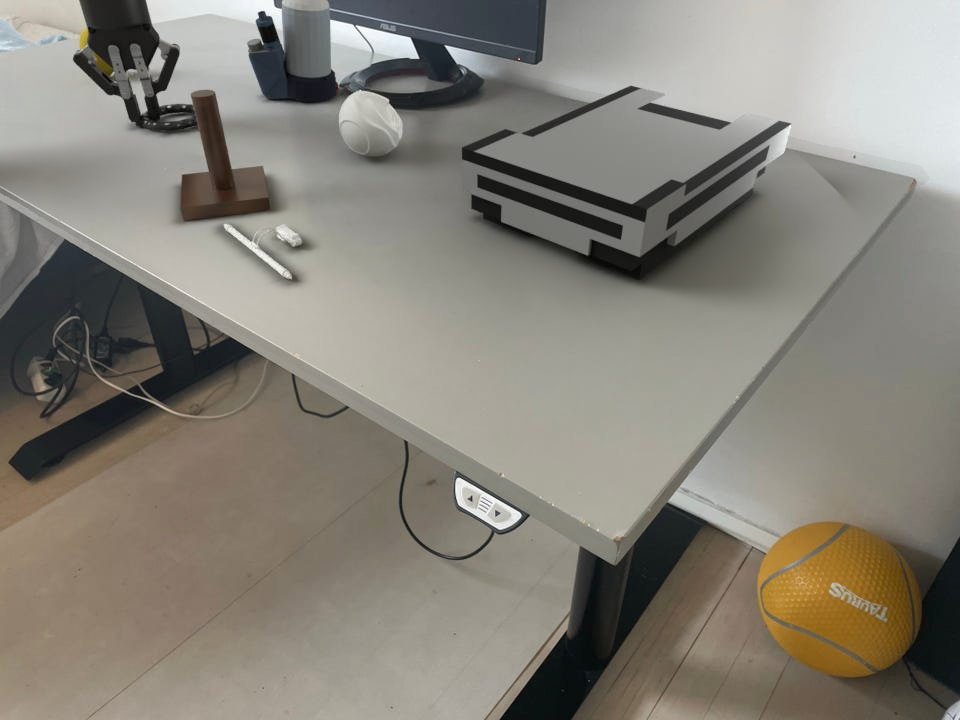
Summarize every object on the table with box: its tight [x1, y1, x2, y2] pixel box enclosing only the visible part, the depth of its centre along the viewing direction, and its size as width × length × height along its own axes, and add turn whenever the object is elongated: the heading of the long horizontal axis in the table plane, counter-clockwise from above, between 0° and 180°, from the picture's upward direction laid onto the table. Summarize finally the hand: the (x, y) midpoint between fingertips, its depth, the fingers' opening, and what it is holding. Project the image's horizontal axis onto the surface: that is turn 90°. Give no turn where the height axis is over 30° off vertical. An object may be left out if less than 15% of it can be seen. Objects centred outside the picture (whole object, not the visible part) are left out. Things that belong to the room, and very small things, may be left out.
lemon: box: [78, 27, 114, 78], centre depth 113 cm, size 6×6×8 cm
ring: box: [140, 103, 198, 132], centre depth 98 cm, size 8×8×1 cm
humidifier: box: [281, 0, 339, 103], centre depth 101 cm, size 8×8×25 cm
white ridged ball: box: [338, 90, 403, 158], centre depth 88 cm, size 8×8×8 cm
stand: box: [179, 89, 272, 222], centre depth 76 cm, size 9×9×12 cm
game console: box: [461, 85, 793, 281], centre depth 77 cm, size 21×32×8 cm, turn 139°
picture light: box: [223, 223, 303, 280], centre depth 70 cm, size 14×4×2 cm, turn 41°
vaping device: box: [246, 10, 289, 100], centre depth 103 cm, size 3×5×12 cm, turn 84°
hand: (147, 123), depth 98 cm, fingers closed on ring, 1 cm apart
